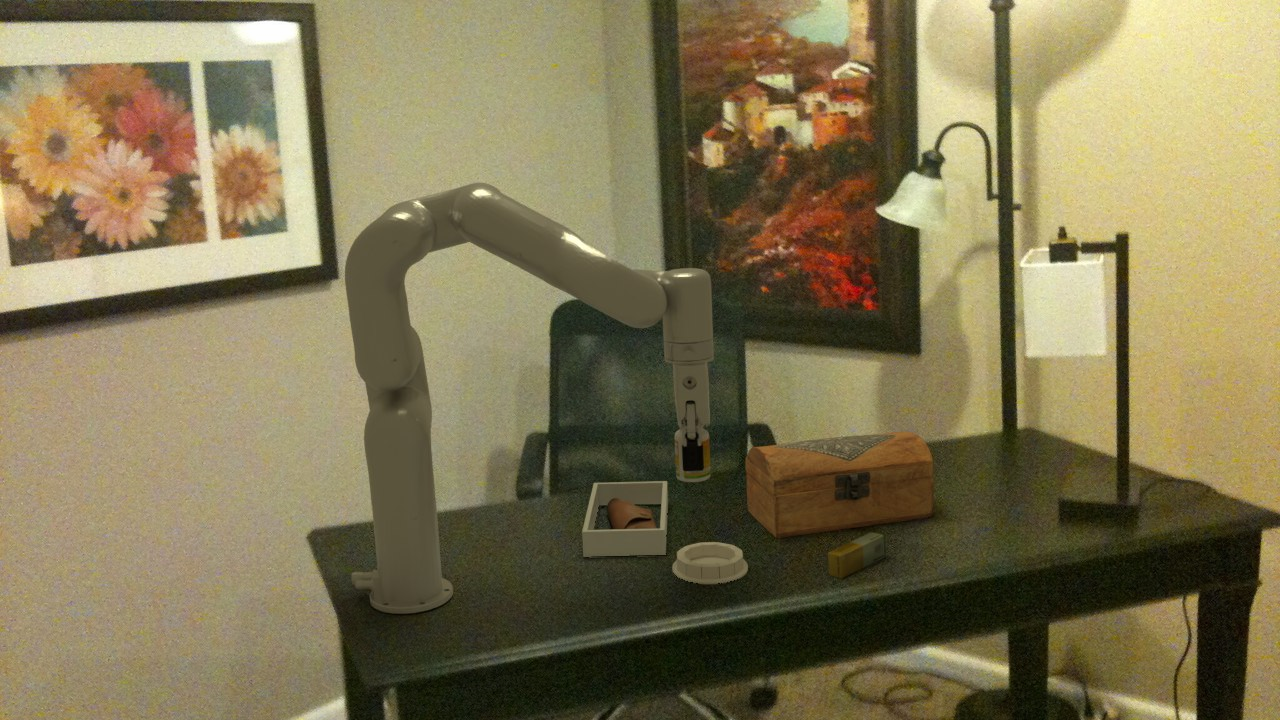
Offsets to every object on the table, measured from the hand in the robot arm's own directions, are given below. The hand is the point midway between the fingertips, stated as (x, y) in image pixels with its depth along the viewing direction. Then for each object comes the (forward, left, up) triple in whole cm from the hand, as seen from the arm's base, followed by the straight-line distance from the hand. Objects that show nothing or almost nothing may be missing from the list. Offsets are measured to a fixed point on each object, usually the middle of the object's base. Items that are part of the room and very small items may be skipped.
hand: (693, 463), depth 186 cm
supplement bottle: (0, 0, -2) cm, 2 cm away
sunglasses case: (-11, +20, -19) cm, 30 cm away
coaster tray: (+2, +1, -18) cm, 18 cm away
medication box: (+26, +2, -19) cm, 32 cm away
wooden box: (+26, +25, -19) cm, 41 cm away
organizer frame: (-12, +20, -18) cm, 30 cm away
